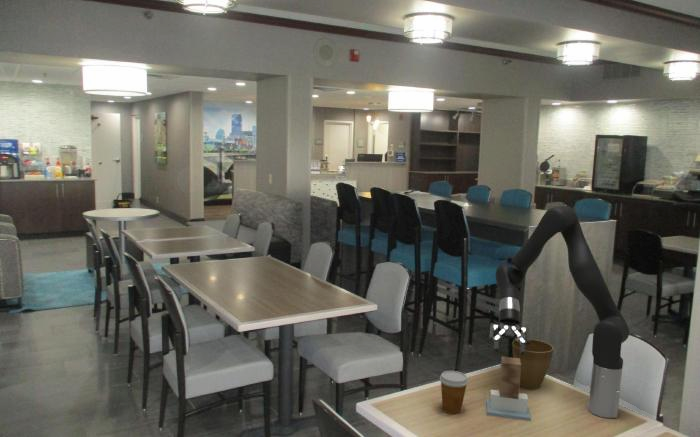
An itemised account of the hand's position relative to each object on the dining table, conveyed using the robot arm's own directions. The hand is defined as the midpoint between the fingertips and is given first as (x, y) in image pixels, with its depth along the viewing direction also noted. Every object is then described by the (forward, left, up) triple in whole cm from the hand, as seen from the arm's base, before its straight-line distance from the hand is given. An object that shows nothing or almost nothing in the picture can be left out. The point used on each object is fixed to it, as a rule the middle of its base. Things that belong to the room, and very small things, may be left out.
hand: (509, 352), depth 198 cm
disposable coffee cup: (+14, +19, -17) cm, 29 cm away
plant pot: (-6, -16, -17) cm, 24 cm away
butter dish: (-3, +10, -17) cm, 20 cm away
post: (-3, +10, -11) cm, 15 cm away
